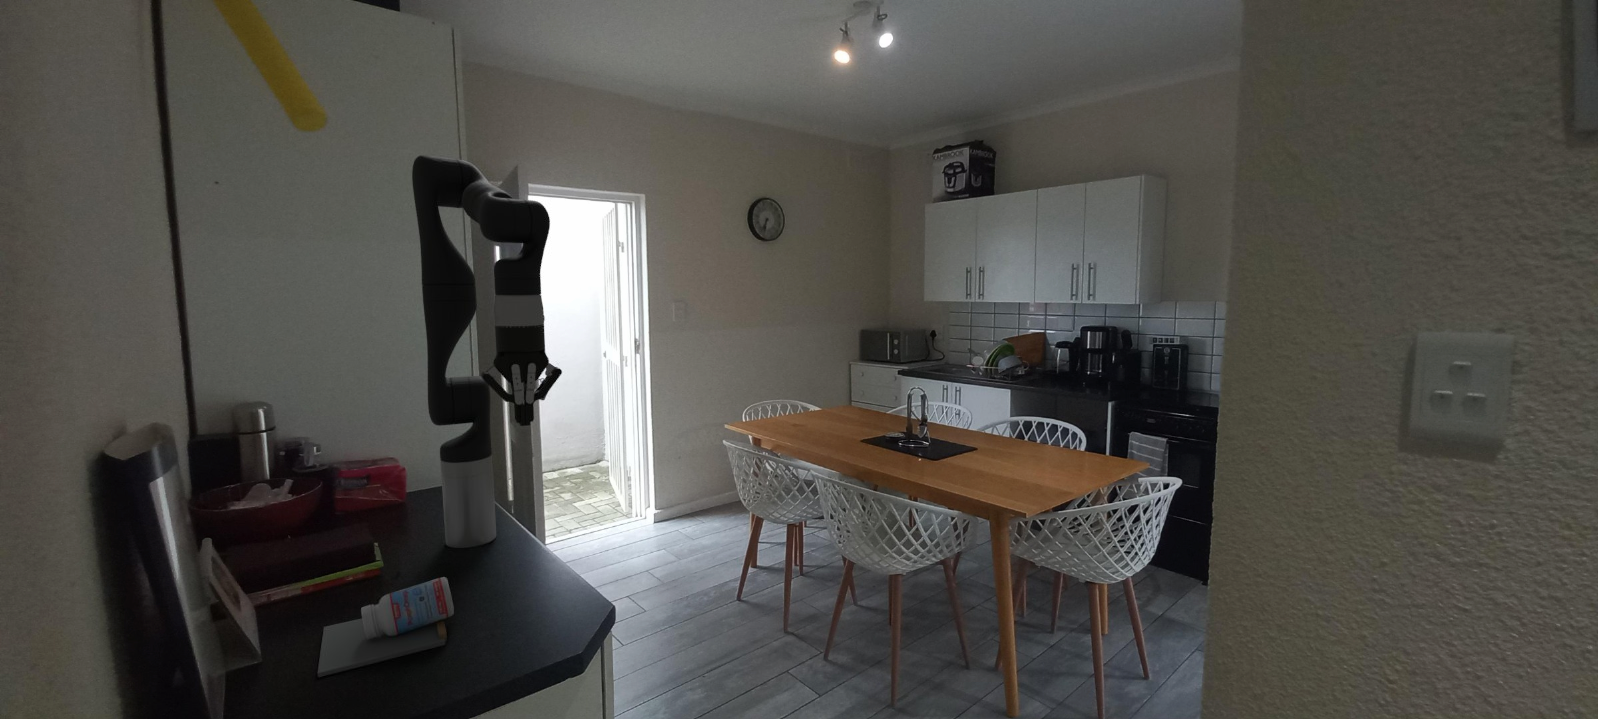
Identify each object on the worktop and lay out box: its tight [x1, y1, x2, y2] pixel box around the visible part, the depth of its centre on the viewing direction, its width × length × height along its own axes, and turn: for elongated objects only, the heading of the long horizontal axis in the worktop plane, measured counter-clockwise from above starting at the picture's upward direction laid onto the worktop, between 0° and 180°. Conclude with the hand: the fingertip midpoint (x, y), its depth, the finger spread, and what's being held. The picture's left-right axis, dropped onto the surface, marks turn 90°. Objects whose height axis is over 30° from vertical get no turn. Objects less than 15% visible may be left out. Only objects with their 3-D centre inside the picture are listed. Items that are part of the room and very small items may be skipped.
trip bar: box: [436, 619, 448, 642], centre depth 102 cm, size 12×1×1 cm, turn 32°
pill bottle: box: [360, 576, 455, 639], centre depth 99 cm, size 6×6×11 cm
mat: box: [317, 617, 446, 678], centre depth 98 cm, size 14×15×1 cm
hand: (524, 424), depth 113 cm, fingers closed
